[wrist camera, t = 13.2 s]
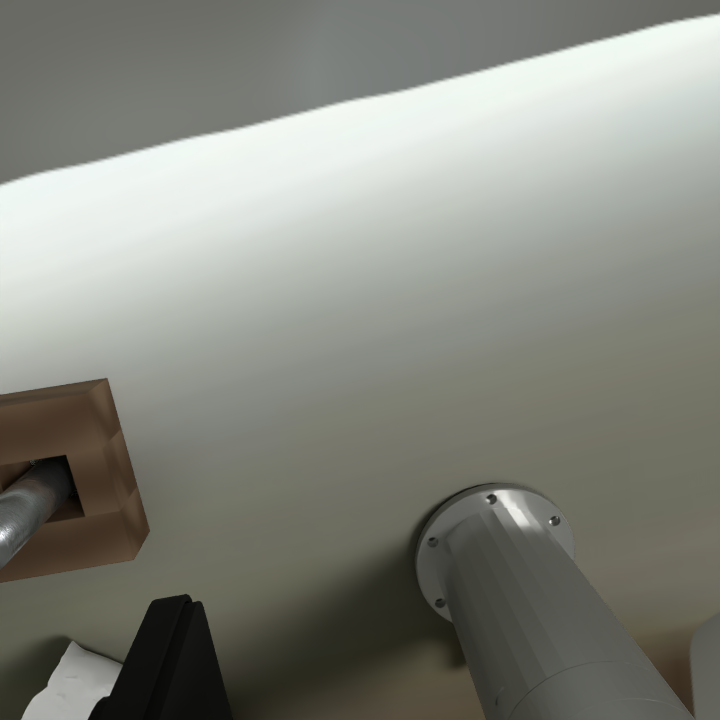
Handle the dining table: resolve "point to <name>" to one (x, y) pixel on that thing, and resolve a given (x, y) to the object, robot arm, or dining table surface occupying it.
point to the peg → (32, 503)
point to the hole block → (90, 472)
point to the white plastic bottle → (74, 686)
